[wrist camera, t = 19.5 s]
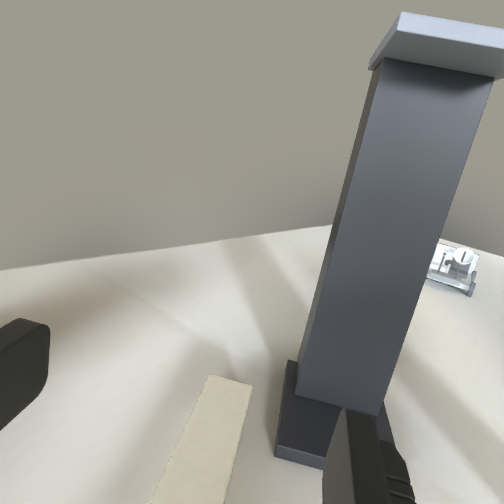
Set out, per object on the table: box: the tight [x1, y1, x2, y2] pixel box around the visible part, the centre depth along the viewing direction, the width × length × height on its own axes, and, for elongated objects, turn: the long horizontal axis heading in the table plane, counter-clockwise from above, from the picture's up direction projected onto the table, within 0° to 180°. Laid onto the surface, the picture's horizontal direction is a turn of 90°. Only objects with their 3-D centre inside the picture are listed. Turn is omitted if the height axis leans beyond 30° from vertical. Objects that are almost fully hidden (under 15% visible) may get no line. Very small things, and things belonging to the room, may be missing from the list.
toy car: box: [426, 243, 479, 297], centre depth 90 cm, size 18×10×12 cm
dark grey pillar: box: [274, 12, 504, 470], centre depth 33 cm, size 10×13×32 cm
